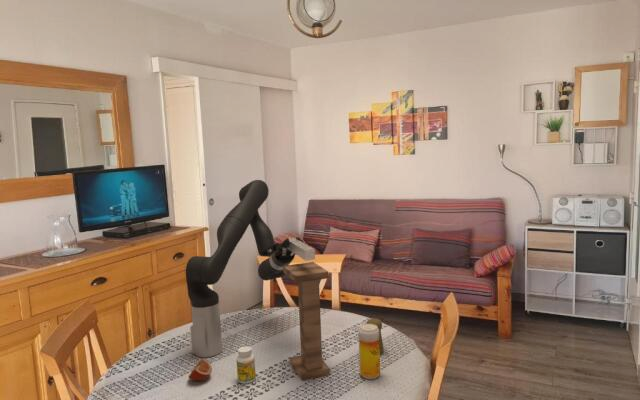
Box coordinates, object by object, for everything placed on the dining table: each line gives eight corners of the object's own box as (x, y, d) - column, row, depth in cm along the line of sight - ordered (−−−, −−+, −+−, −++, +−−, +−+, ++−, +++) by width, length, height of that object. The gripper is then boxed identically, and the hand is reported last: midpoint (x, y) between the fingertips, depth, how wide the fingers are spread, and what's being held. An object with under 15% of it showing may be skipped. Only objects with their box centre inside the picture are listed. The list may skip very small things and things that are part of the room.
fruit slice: (194, 372, 148) (193, 357, 147) (215, 372, 147) (214, 356, 147) (185, 385, 139) (184, 369, 139) (207, 385, 139) (206, 369, 138)
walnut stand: (287, 363, 151) (283, 265, 147) (317, 357, 154) (313, 261, 151) (300, 381, 139) (296, 276, 135) (332, 374, 142) (328, 271, 139)
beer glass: (381, 379, 138) (380, 330, 137) (360, 380, 138) (359, 331, 137) (379, 369, 144) (377, 322, 143) (359, 370, 144) (357, 323, 143)
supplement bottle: (258, 376, 143) (257, 346, 142) (251, 385, 138) (249, 353, 137) (242, 374, 145) (240, 344, 144) (234, 383, 140) (232, 352, 139)
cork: (385, 355, 154) (384, 323, 153) (366, 355, 154) (365, 323, 153) (382, 347, 160) (382, 316, 159) (365, 347, 160) (364, 316, 159)
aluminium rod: (285, 247, 156) (284, 238, 155) (294, 246, 157) (293, 237, 156) (305, 260, 137) (304, 250, 137) (315, 259, 138) (314, 249, 138)
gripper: (260, 249, 165) (270, 231, 150) (298, 244, 170) (311, 227, 155) (264, 269, 163) (274, 254, 148) (302, 264, 168) (316, 248, 153)
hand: (293, 240), depth 152 cm, fingers closed on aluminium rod, 3 cm apart
